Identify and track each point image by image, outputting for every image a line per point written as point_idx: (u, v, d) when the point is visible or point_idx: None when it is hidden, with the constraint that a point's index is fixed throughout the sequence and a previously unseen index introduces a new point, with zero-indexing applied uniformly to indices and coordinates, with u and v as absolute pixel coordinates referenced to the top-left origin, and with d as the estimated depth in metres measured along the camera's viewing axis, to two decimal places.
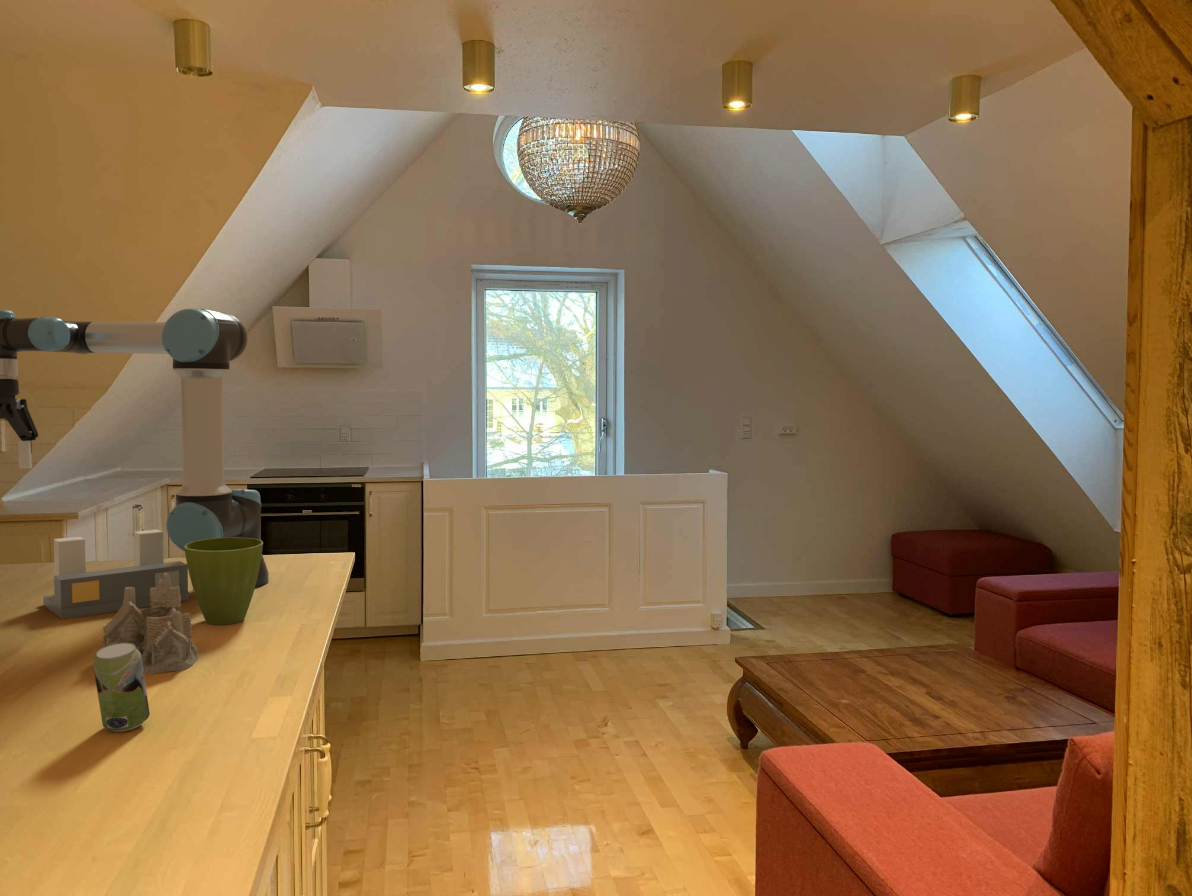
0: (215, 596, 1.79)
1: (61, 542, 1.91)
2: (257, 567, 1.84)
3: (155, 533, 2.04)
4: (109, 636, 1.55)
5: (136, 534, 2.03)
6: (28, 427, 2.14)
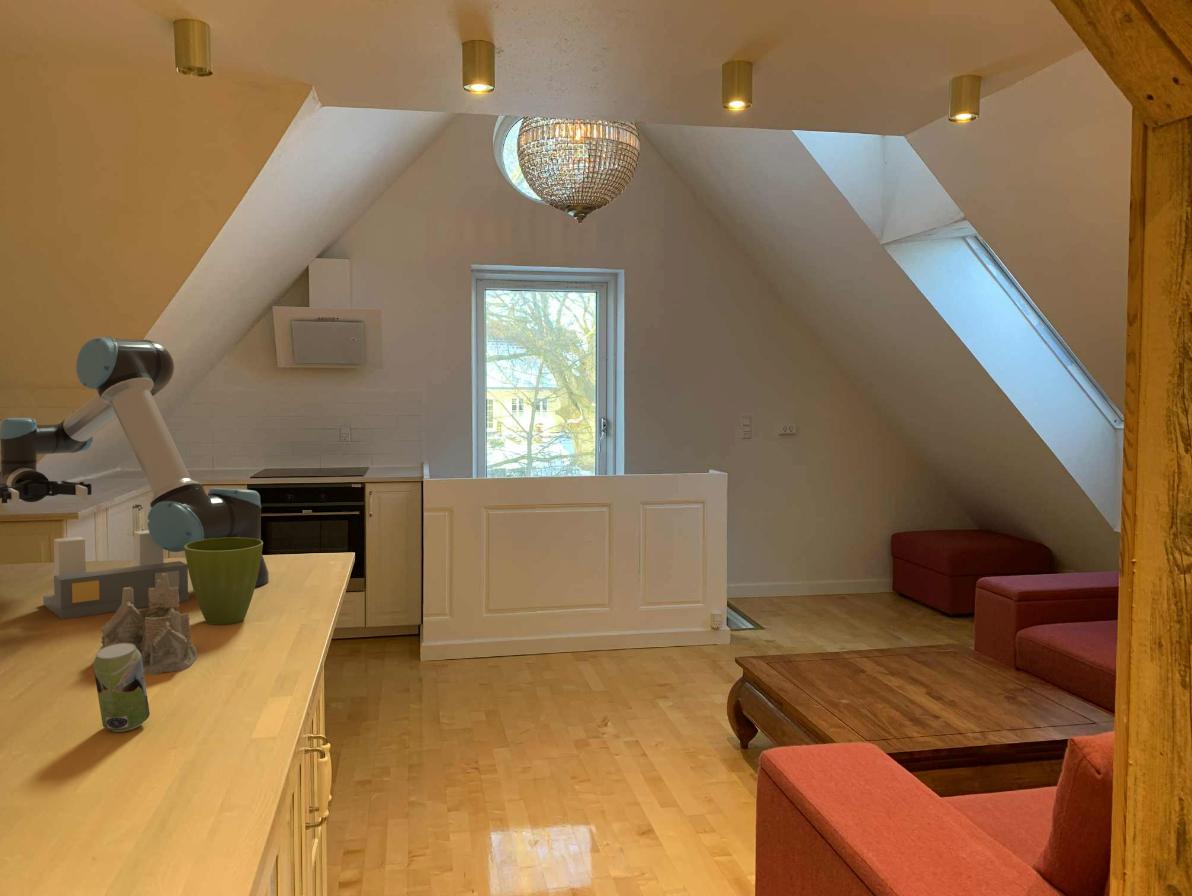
0: (215, 596, 1.79)
1: (61, 542, 1.91)
2: (257, 567, 1.84)
3: None
4: (107, 636, 1.54)
5: (136, 534, 2.03)
6: None
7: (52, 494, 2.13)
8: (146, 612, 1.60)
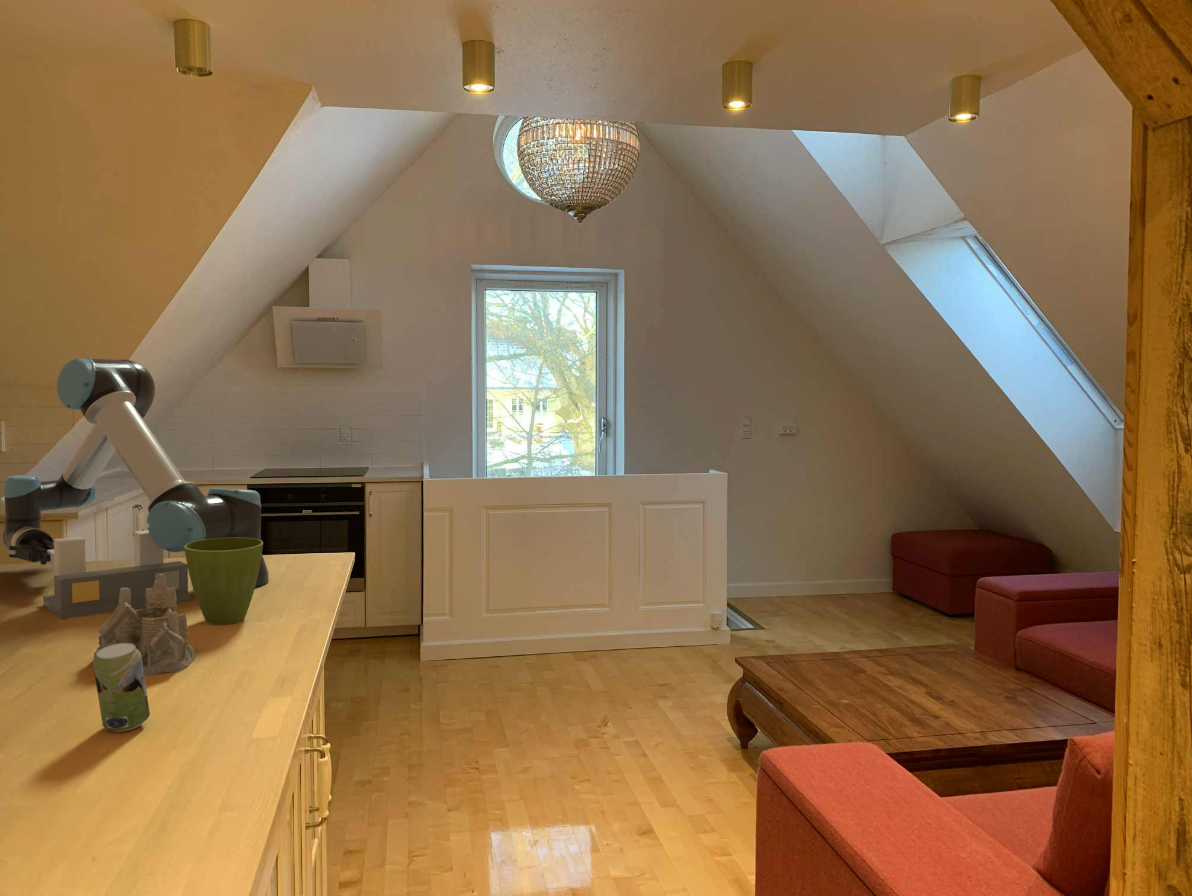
0: (215, 596, 1.79)
1: (61, 542, 1.91)
2: (257, 567, 1.84)
3: None
4: (104, 637, 1.54)
5: (136, 534, 2.03)
6: None
7: None
8: (143, 612, 1.59)
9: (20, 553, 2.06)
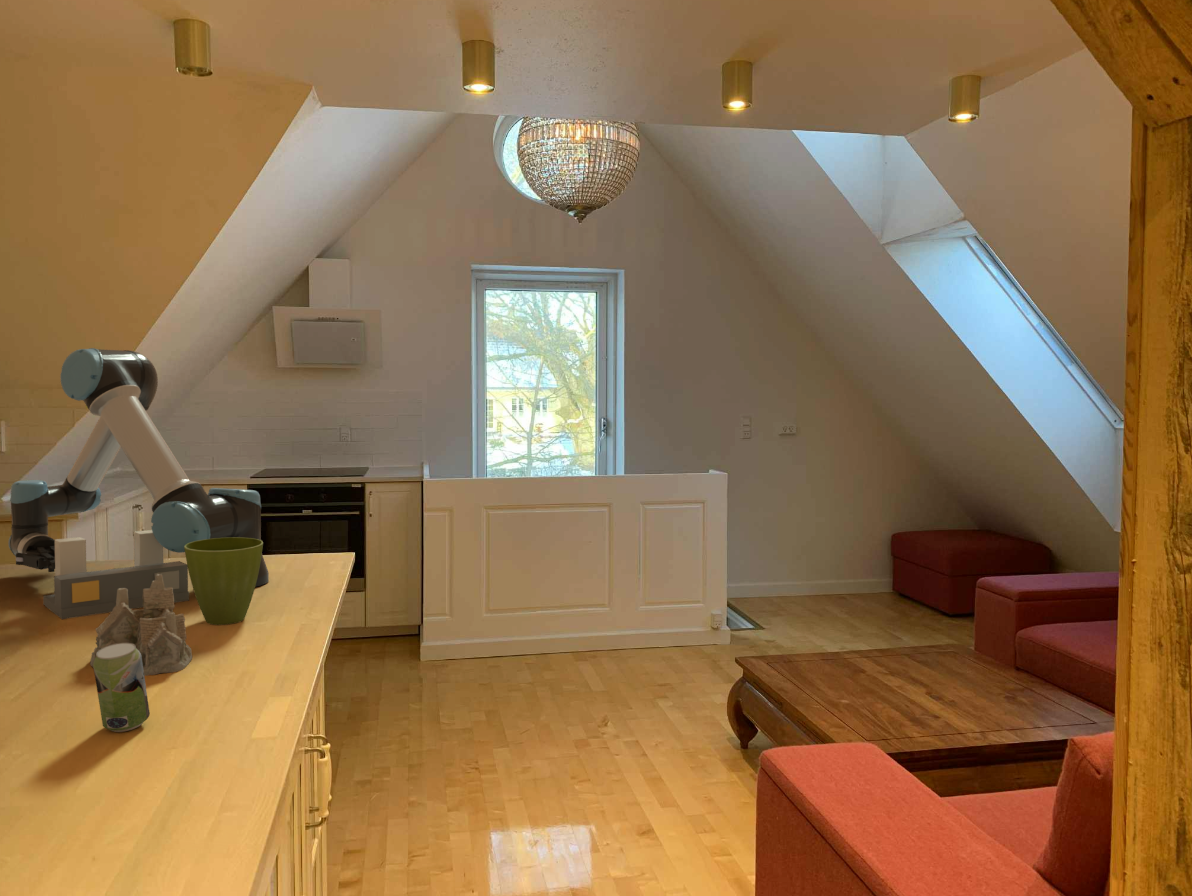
0: (215, 596, 1.79)
1: (62, 542, 1.90)
2: (257, 567, 1.84)
3: None
4: (102, 637, 1.54)
5: (136, 534, 2.03)
6: None
7: None
8: (141, 613, 1.59)
9: (27, 560, 2.01)
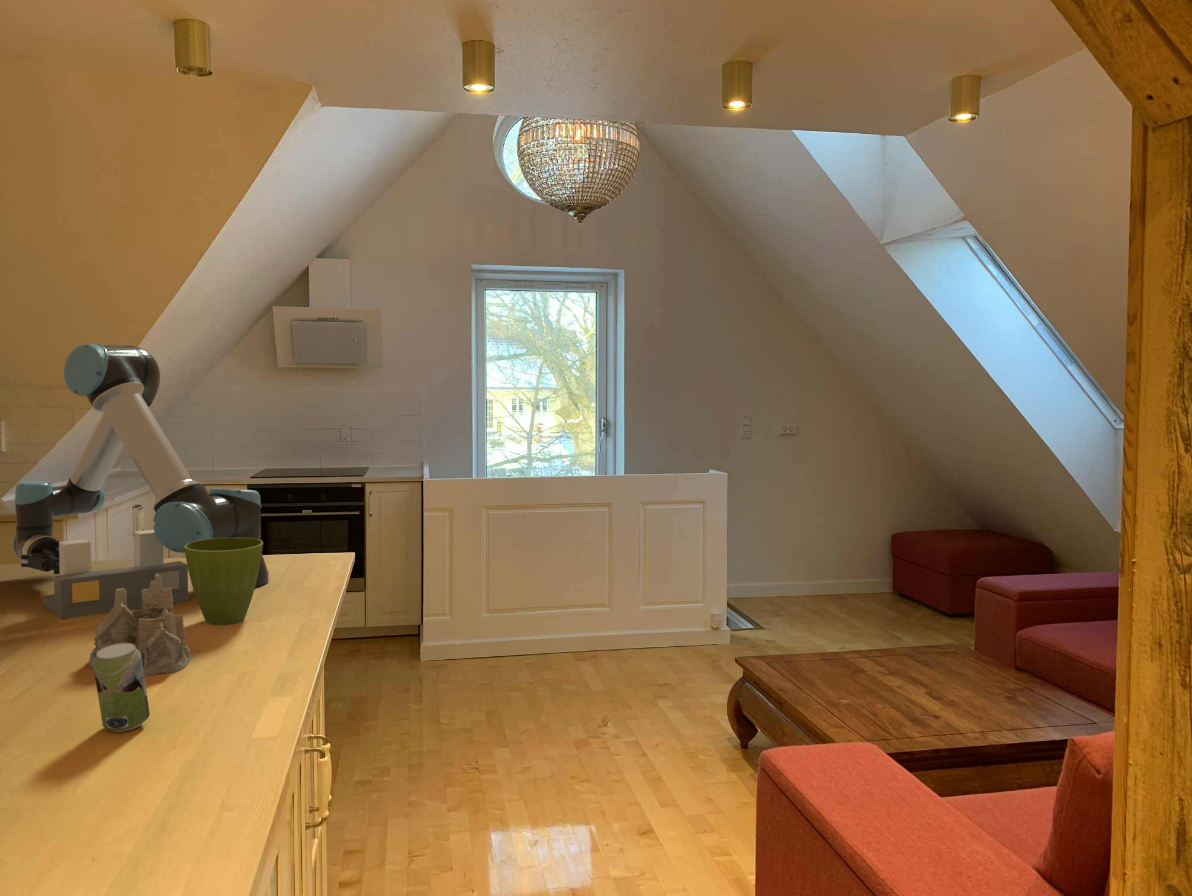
0: (215, 596, 1.79)
1: (66, 545, 1.88)
2: (257, 567, 1.84)
3: None
4: (100, 638, 1.53)
5: (136, 534, 2.03)
6: None
7: None
8: (139, 613, 1.59)
9: (33, 562, 1.98)
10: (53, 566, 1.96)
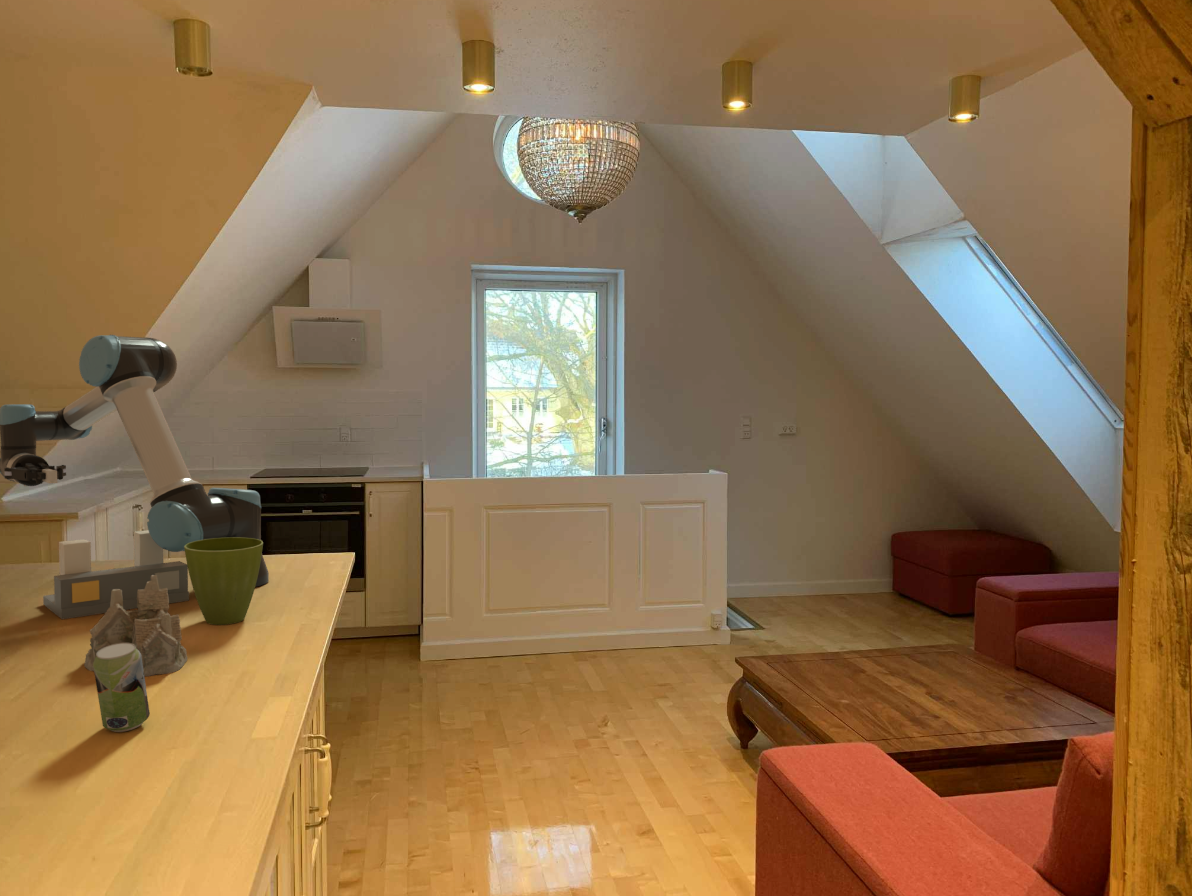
0: (215, 596, 1.79)
1: (66, 545, 1.88)
2: (257, 567, 1.84)
3: None
4: (96, 639, 1.53)
5: (136, 534, 2.03)
6: None
7: None
8: (135, 614, 1.58)
9: (16, 474, 2.06)
10: (35, 476, 2.04)
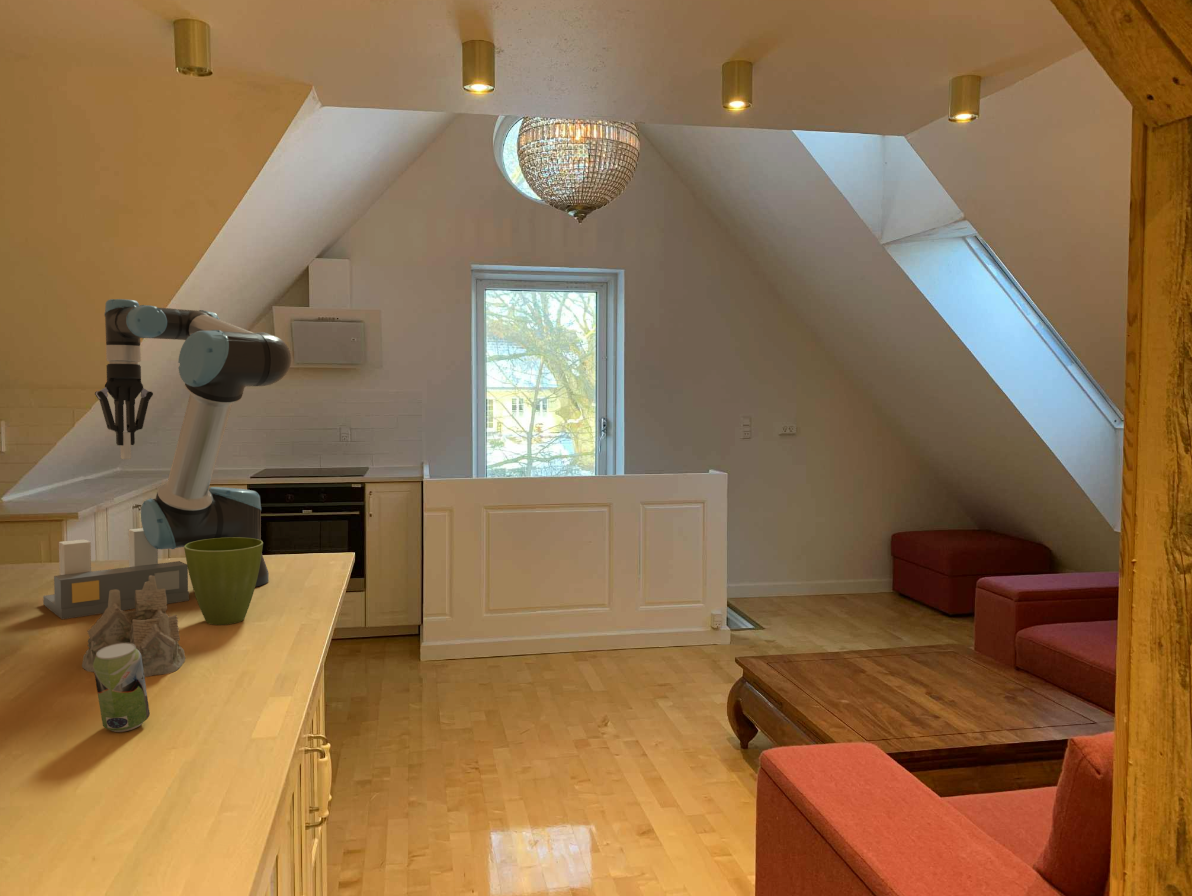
0: (215, 596, 1.79)
1: (66, 545, 1.88)
2: (257, 567, 1.84)
3: None
4: (94, 639, 1.52)
5: (131, 532, 2.06)
6: (138, 417, 2.24)
7: (125, 402, 2.23)
8: (133, 614, 1.58)
9: (103, 409, 2.18)
10: (116, 432, 2.21)
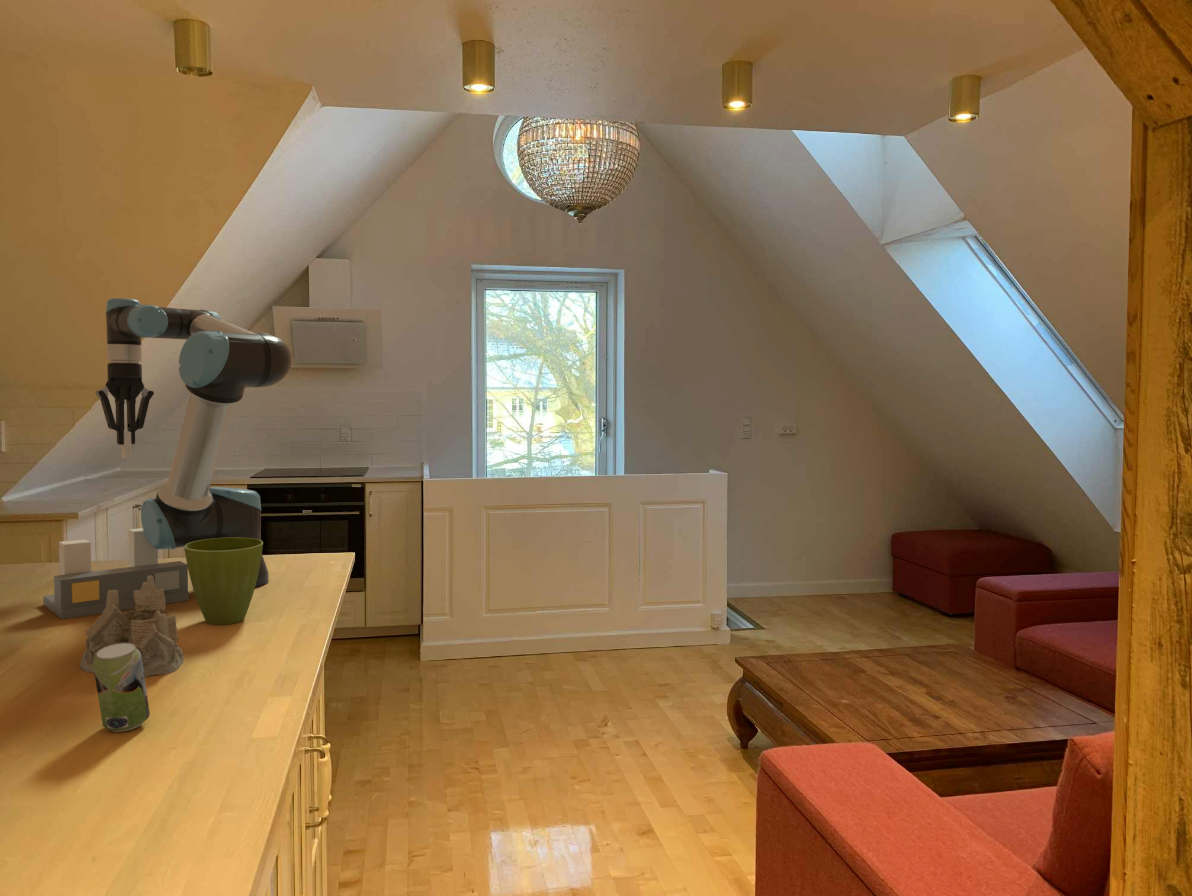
0: (215, 596, 1.79)
1: (66, 545, 1.88)
2: (257, 567, 1.84)
3: None
4: (92, 640, 1.52)
5: (131, 532, 2.06)
6: (139, 416, 2.24)
7: (126, 401, 2.23)
8: (131, 615, 1.58)
9: (104, 408, 2.18)
10: (116, 431, 2.21)
